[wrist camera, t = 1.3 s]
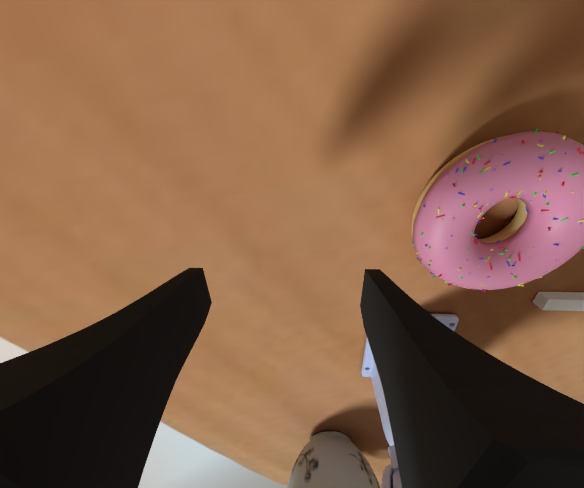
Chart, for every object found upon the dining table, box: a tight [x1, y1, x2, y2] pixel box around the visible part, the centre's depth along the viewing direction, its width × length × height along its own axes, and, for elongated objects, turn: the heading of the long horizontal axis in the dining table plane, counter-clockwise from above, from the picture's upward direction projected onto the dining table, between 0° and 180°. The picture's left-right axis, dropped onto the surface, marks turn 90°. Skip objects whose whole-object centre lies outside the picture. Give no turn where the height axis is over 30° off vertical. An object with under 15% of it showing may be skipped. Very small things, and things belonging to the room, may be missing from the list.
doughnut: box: [411, 128, 584, 292], centre depth 16 cm, size 11×11×4 cm
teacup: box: [288, 431, 380, 488], centre depth 32 cm, size 15×12×8 cm
